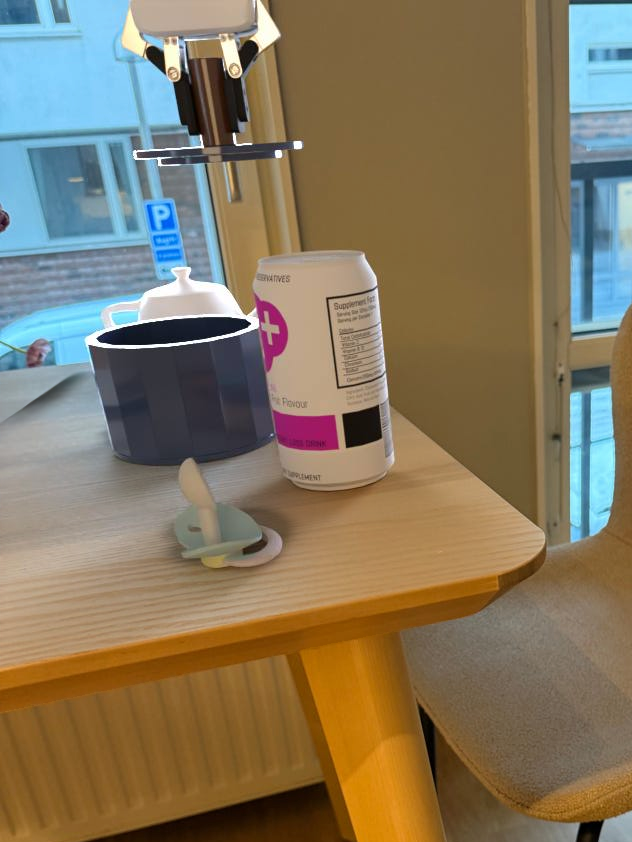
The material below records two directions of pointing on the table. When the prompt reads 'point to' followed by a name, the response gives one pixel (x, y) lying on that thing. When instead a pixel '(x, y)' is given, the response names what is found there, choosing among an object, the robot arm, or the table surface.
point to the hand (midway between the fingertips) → (217, 131)
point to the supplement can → (325, 367)
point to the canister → (183, 388)
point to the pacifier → (218, 527)
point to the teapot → (179, 301)
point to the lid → (214, 124)
